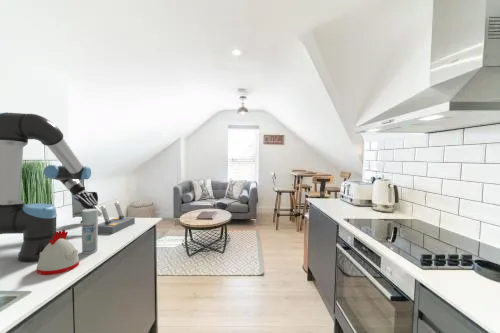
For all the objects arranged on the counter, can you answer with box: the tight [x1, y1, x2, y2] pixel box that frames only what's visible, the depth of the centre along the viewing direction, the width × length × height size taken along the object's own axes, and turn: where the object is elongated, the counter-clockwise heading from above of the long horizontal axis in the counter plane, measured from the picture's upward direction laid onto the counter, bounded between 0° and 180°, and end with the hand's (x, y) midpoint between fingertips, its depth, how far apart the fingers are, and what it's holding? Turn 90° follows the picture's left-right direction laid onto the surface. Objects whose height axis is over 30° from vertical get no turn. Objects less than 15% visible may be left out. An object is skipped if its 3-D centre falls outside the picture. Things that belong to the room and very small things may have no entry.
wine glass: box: [80, 191, 99, 224], centre depth 179 cm, size 10×10×20 cm
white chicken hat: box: [36, 229, 80, 276], centre depth 106 cm, size 14×14×15 cm
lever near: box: [99, 205, 111, 225], centre depth 158 cm, size 3×3×12 cm
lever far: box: [114, 201, 125, 219], centre depth 172 cm, size 3×3×12 cm
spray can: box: [81, 208, 99, 255], centre depth 123 cm, size 6×6×20 cm
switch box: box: [98, 216, 136, 235], centre depth 165 cm, size 24×12×4 cm, turn 175°
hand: (100, 214), depth 158 cm, fingers closed
